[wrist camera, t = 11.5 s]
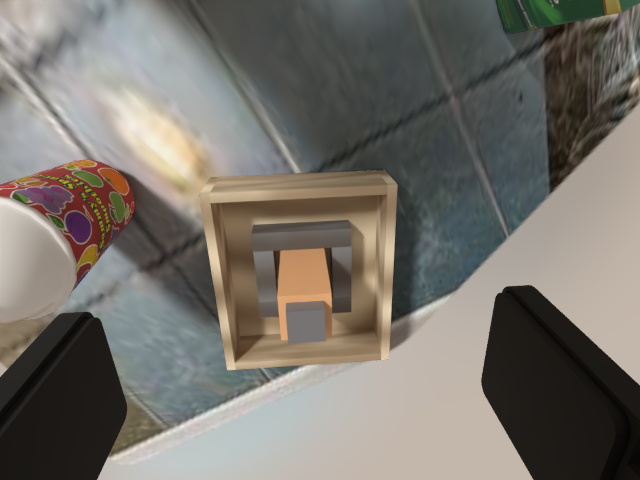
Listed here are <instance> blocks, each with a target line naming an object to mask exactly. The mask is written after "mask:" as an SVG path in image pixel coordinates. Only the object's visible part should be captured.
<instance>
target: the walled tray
mask: <svg viewBox="0 0 640 480" xmlns="http://www.w3.org/2000/svg"><path fill="white" fill-rule="evenodd" d="M397 185H398V184H397V183H396V182H395V181H394V180H393V179H392V177H391V176H390V175H389V174H388V173H387V172H386V170H363V171H342V172H321V173H299V174H278V175H256V176H235V177H214V178H210V179H209V181H208V182H207V183H206V185H205V186H204V188H203V189H202V190H201V192H200V193H199V198H200V205H201V211H202V217H203V223H204V229H205V235H206V241H207V248H208V254H209V260H210V266H211V272H212V278H213V284H214V291H215V297H216V303H217V309H218V315H219V321H220V327H221V334H222V340H223V346H224V352H225V358H226V364H227V370H237V369H252V368H267V367H282V366H297V365H312V364H327V363H342V362H357V361H371V360H385V359H389V349H390V328H391V308H392V287H393V267H394V247H395V226H396V206H397ZM317 248H324V251H325V257H326V263H327V269H328V275H329V281H330V287H331V293H332V337H329V338H326V341H323V342H308V343H292V344H288V340H282V341H281V333H280V322H279V311H278V299H277V293H278V279H279V265H280V251H281V250H299V249H317Z"/></svg>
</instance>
